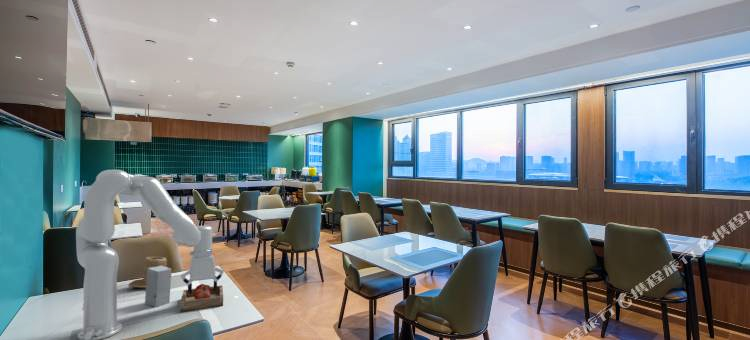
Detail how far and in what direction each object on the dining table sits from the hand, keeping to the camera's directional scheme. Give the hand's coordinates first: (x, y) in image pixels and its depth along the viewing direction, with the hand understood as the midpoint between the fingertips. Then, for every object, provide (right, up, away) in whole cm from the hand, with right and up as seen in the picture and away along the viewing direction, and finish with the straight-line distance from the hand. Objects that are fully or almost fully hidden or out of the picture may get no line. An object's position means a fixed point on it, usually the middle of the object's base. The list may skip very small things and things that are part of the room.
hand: (202, 291), depth 154 cm
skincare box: (-19, -5, -1) cm, 20 cm away
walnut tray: (0, -5, 0) cm, 5 cm away
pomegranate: (0, -4, 0) cm, 4 cm away
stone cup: (-37, -5, +21) cm, 43 cm away
